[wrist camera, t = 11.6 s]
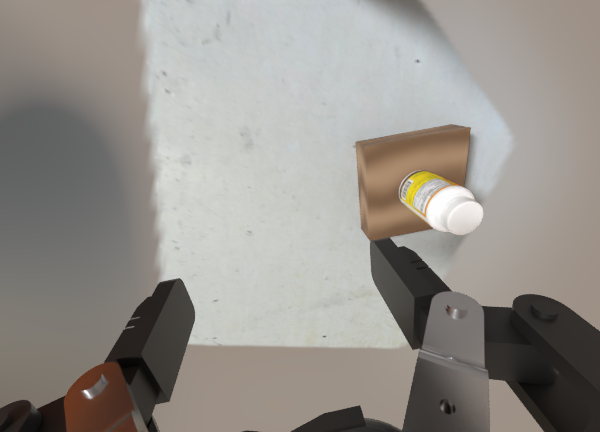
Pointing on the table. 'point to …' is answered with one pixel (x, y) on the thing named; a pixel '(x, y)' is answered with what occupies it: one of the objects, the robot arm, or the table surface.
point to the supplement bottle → (440, 202)
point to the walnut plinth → (405, 174)
